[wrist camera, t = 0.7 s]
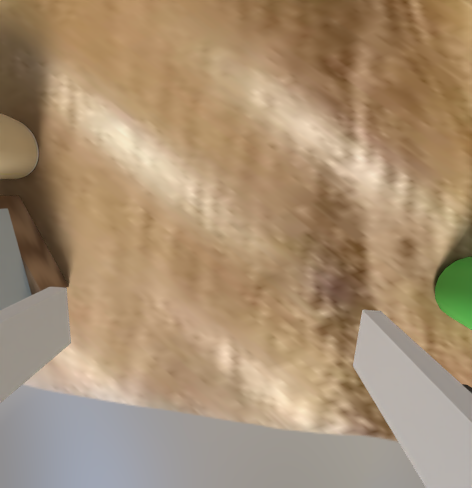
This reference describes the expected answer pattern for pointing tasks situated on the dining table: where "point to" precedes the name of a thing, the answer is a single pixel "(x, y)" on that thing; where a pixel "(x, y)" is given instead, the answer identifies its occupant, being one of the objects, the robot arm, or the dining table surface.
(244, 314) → the dining table surface
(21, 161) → the coffee cup
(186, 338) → the dining table surface
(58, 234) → the dining table surface
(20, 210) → the block bottom
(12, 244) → the block top
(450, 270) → the bottle
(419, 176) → the dining table surface
